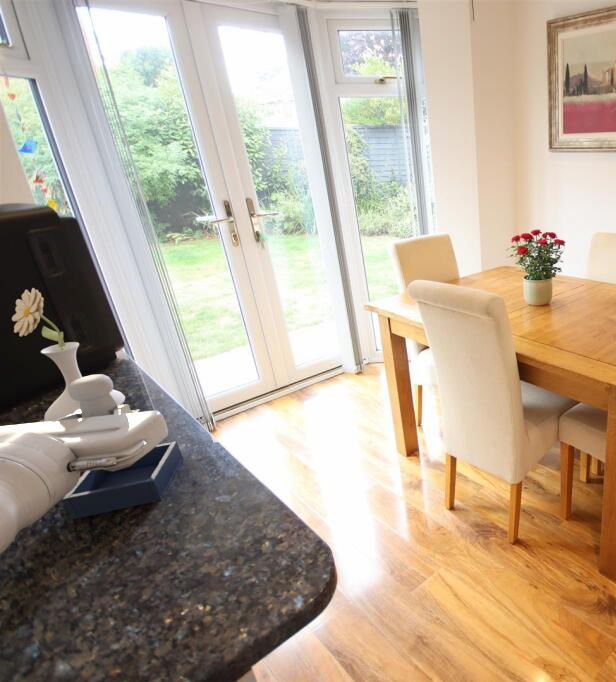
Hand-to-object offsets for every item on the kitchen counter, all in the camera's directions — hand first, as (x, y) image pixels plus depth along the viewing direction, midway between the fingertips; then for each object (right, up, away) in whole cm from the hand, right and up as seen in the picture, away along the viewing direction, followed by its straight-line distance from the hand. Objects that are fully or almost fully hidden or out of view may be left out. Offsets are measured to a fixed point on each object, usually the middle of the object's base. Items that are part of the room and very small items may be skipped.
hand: (106, 411), depth 62 cm
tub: (+1, -11, +4) cm, 12 cm away
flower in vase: (-23, -5, +23) cm, 33 cm away
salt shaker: (0, -8, +2) cm, 8 cm away
